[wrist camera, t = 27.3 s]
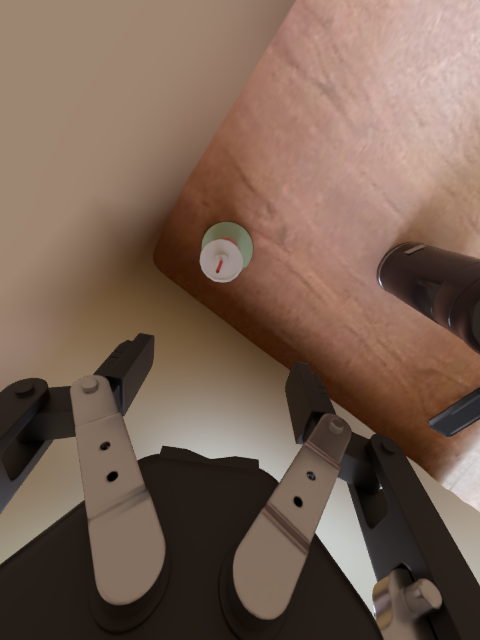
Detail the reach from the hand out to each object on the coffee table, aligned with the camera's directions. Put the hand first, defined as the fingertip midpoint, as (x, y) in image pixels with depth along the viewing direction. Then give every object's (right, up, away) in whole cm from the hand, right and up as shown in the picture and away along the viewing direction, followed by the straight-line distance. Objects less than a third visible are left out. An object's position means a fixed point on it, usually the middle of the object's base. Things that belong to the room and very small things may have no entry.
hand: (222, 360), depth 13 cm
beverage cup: (-1, +15, +28) cm, 32 cm away
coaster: (-1, +15, +28) cm, 32 cm away
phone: (+56, -20, +45) cm, 75 cm away
